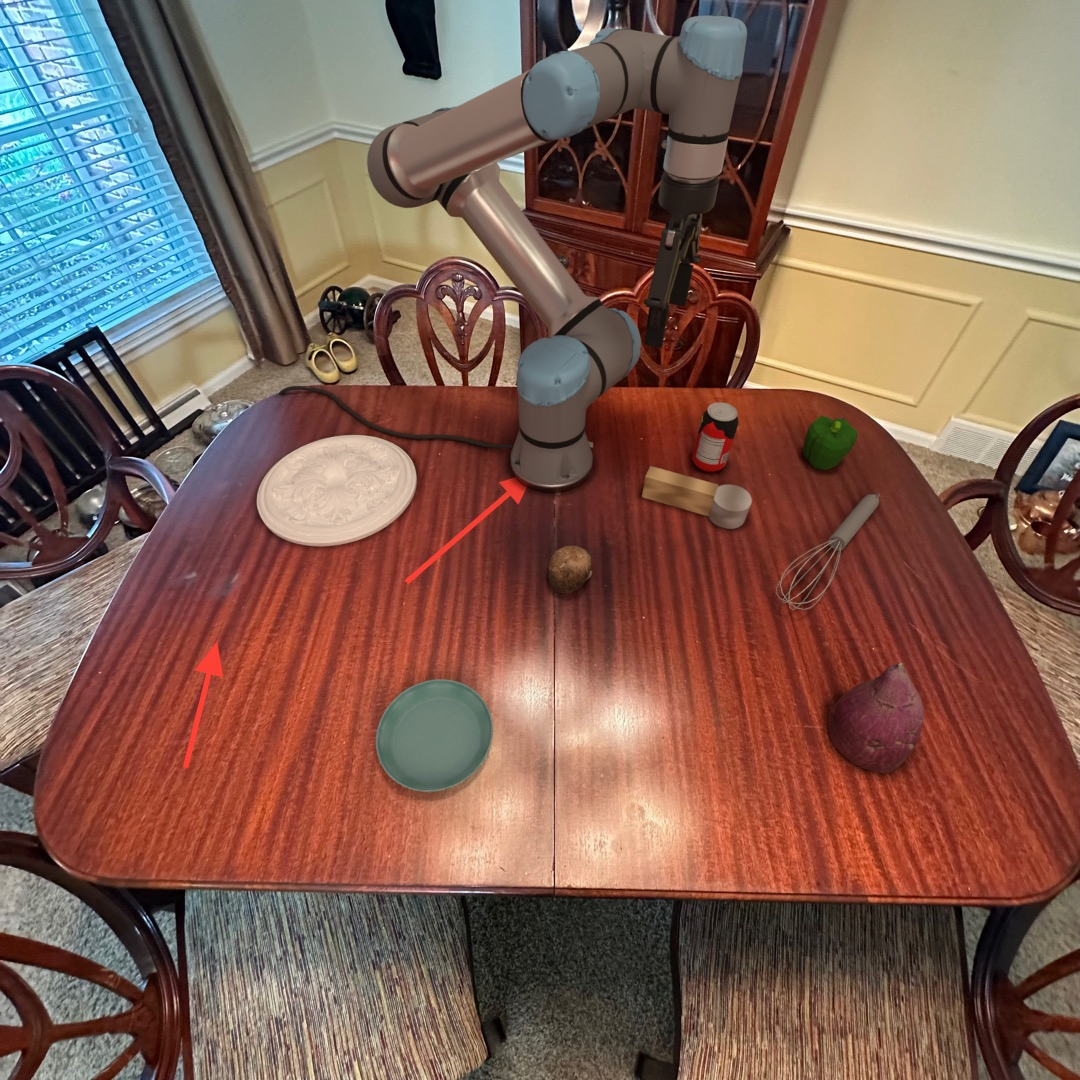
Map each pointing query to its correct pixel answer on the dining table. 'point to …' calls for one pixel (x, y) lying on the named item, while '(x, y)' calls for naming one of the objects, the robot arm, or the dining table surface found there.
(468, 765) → the saucer
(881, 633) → the dining table surface
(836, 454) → the bell pepper
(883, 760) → the vegetable
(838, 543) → the kitchen whisk
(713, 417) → the beverage can
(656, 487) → the scoop
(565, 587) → the mushroom
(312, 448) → the ceiling medallion
